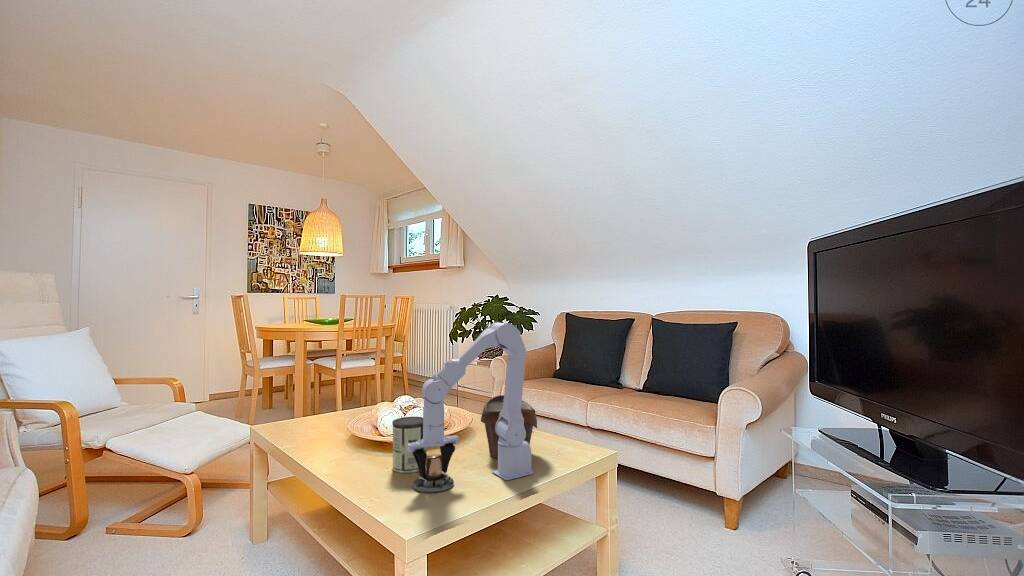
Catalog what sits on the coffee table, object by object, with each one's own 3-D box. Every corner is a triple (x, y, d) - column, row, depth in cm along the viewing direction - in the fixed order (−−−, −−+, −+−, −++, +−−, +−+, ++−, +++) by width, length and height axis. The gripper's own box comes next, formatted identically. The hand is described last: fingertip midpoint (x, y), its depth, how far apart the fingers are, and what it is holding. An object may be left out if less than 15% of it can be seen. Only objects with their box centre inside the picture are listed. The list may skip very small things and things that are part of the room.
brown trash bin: (518, 468, 142) (518, 407, 143) (468, 455, 154) (468, 400, 155) (549, 453, 157) (549, 399, 157) (502, 443, 169) (502, 392, 169)
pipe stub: (436, 478, 132) (436, 453, 132) (445, 482, 129) (445, 456, 129) (422, 482, 129) (422, 456, 130) (431, 487, 126) (431, 460, 126)
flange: (442, 474, 137) (442, 466, 137) (460, 487, 128) (460, 478, 128) (406, 483, 131) (406, 474, 131) (422, 496, 122) (422, 487, 122)
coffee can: (413, 459, 151) (413, 414, 151) (433, 466, 144) (433, 420, 144) (385, 467, 143) (385, 420, 143) (405, 476, 136) (405, 426, 137)
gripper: (414, 431, 122) (414, 484, 122) (464, 423, 131) (463, 472, 130) (404, 425, 128) (403, 476, 128) (452, 418, 136) (452, 465, 136)
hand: (433, 474), depth 129 cm, fingers open, 6 cm apart
